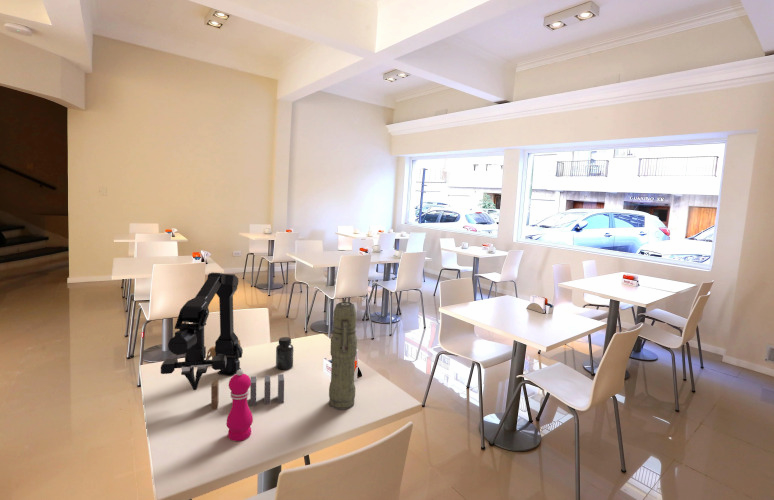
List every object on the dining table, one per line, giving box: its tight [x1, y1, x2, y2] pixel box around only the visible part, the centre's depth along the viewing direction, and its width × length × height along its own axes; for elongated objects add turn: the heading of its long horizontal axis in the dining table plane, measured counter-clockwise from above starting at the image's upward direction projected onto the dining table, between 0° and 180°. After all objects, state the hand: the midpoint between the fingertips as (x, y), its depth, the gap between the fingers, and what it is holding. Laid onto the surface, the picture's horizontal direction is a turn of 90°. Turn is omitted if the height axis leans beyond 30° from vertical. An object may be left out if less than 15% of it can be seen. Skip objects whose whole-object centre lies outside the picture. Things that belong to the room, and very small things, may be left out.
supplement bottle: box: [275, 336, 294, 371], centre depth 167 cm, size 7×7×12 cm
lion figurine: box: [205, 338, 241, 360], centre depth 170 cm, size 15×5×9 cm, turn 119°
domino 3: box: [263, 374, 271, 405], centre depth 140 cm, size 2×5×8 cm, turn 17°
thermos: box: [328, 301, 358, 410], centre depth 139 cm, size 9×12×35 cm
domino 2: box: [249, 375, 257, 407], centre depth 138 cm, size 2×5×8 cm, turn 17°
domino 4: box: [277, 373, 285, 404], centre depth 141 cm, size 2×5×8 cm, turn 17°
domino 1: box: [210, 378, 220, 411], centre depth 135 cm, size 2×5×8 cm, turn 18°
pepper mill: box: [225, 368, 254, 442], centre depth 118 cm, size 7×7×20 cm
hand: (195, 389), depth 133 cm, fingers closed
